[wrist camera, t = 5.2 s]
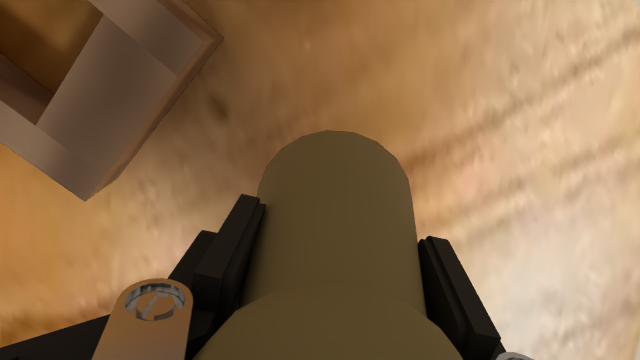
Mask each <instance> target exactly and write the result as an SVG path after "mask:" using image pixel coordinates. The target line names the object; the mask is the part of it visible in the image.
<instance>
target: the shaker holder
mask: <svg viewBox="0 0 640 360" xmlns="http://www.w3.org/2000/svg"><path fill="white" fill-rule="evenodd" d="M88 1H89V2H90V3H92V4H93V5H94V6H95V7H96V8H97V9H99V10H100V11H101V12H102V13H103V14H104V15H103V17H102V18H101V20H100V22H99V23H98V25H97V26H96V28H95V30H94V31H93V33H92V35H91V36H90V38H89V39H88V41H87V43H86V44H85V46H84V48H83V49H82V51H81V52H80V54H79V56H78V57H77V59H76V61H75V62H74V64H73V66H72V67H71V69H70V70H69V72H68V74H67V75H66V77H65V79H64V80H63V82H62V83H61V85H60V87H59V88H58V90H57V92H56V93H55V94H54V93H52V92H51V91H50V90H48V89H47V88H46V87H44V86H43V85H42V84H41V83H39V82H38V81H37V80H35V79H34V78H33V77H31V76H30V75H29V74H27V73H26V72H25V71H24V70H22V69H21V68H20V67H18V66H17V65H16V64H14V63H13V62H12V61H10V60H9V59H8V58H7V57H5V56H4V55H3V54H1V53H0V142H1V143H2V144H4V145H5V146H7V147H8V148H10V149H11V150H12V151H14V152H15V153H17V154H18V155H19V156H21V157H22V158H24V159H25V160H27V161H28V162H29V163H31V164H32V165H34V166H35V167H36V168H38V169H39V170H41V171H42V172H44V173H45V174H46V175H48V176H49V177H51V178H52V179H53V180H55V181H56V182H58V183H59V184H60V185H62V186H63V187H65V188H66V189H68V190H69V191H70V192H72V193H73V194H75V195H76V196H77V197H79V198H80V199H82V200H83V201H87V200H88V199H89V198H91V197H92V196H94V195H95V194H96V193H98V192H99V191H100V190H102V189H103V188H105V187H106V186H107V185H109V184H110V183H112V182H113V181H114V180H116V179H117V178H118V177H119V175H120V174H121V173H122V171H123V170H124V169H125V167H126V166H127V165H128V164H129V162H130V161H131V160H132V158H133V157H134V156H135V154H136V153H137V152H138V150H139V149H140V148H141V146H142V145H143V144H144V142H145V141H146V140H147V138H148V137H149V136H150V134H151V133H152V132H153V131H154V129H155V128H156V127H157V125H158V124H159V123H160V121H161V120H162V119H163V117H164V116H165V115H166V113H167V112H168V111H169V109H170V108H171V107H172V105H173V104H174V103H175V101H176V100H177V99H178V97H179V96H180V95H181V94H182V92H183V91H184V90H185V88H186V87H187V86H188V84H189V83H190V82H191V80H192V79H193V78H194V76H195V75H196V74H197V72H198V71H199V70H200V68H201V67H202V66H203V64H204V63H205V62H206V61H207V59H208V58H209V57H210V55H211V54H212V53H213V51H214V50H215V49H216V47H217V46H218V45H219V43H220V42H221V41H222V39H223V37H222V36H221V35H220V34H219V33H217V32H216V31H215V30H214V29H213V28H212V27H211V26H210V25H209V24H208V23H206V22H205V21H204V20H203V19H202V18H201V17H200V16H199V15H198V14H197V13H195V12H194V11H193V10H192V9H191V8H190V7H189V6H188V5H187V4H186V3H184V2H183V1H182V0H88Z"/></svg>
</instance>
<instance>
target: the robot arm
mask: <svg viewBox="0 0 640 360" xmlns="http://www.w3.org/2000/svg"><path fill="white" fill-rule="evenodd" d="M265 209H266V204H262V203H260V198H257V197H253V196H248V195H244V194H241V196H240V197H239V199H238V200H237V202H236V204H235V205H234V207H233V209H232V210H231V212H230V214H229V215H228V217H227V219H226V220H225V222H224V223H223V225H222V227H221V228H220V230H219V232H218V233H214V232H210V231H205V230H202V231H201V232H200V233H199V234H198V236H197V237H196V239H195V240H194V242H193V243H192V244H191V246H190V247H189V249H188V250H187V252H186V253H185V254H184V256H183V257H182V259H181V260H180V261H179V263H178V264H177V266H176V267H175V269H174V270H173V271H172V273H171V274H170V276H169V277H168V279H164V278H155V279H147V280H143V281H139V282H137V283H135V284H133V285H130V286H129V287H128V288H126V289H125V290H124V291H122V293H121V294H120V296H119V297H118V299H117V301H116V303H115V305H114V308H113V310H112V312H111V314H109V315H106V316H103V317H99V318H96V319H93V320H90V321H86V322H83V323H80V324H77V325H73V326H70V327H67V328H64V329H60V330H57V331H54V332H51V333H47V334H44V335H41V336H38V337H34V338H31V339H28V340H25V341H21V342H18V343H15V344H12V345H8V346H5V347H2V348H0V360H192V359H193V358H194V357H195V356H196V354H197V353H198V352H199V351H200V350H201V349H202V347H203V346H204V345H205V344H206V343H207V341H208V340H209V339H210V338H211V337H212V336H213V335H214V334H215V333H216V331H217V330H218V329H219V328H220V327H221V326H222V325H223V324H224V323H225V322H226V321H227V320H228V319H229V318H230V317H231V316H232V315H233V313H234V312H235V311H237V309H238V303H239V297H240V292H241V289H242V285H243V281H244V278H245V274H246V271H247V267H248V263H249V260H250V256H251V253H252V249H253V246H254V243H255V240H256V237H257V234H258V231H259V228H260V225H261V222H262V219H263V216H264V213H265ZM417 246H418V253H419V260H420V267H421V274H422V281H423V288H424V296H425V304H426V311H427V319H429V320H430V321H431V322H433V323H434V324H435V325H437V326H438V327H439V328H440V329H441V330H442V331H443V333H444V334H445V335H446V336H447V338H448V339H449V340H450V342H451V343H452V344H453V346H454V347H455V348H456V349H457V351H458V352H459V354H460V355H461V357H462V358H463V360H533V359H531V358H529V357H527V356H525V355H522V354H518V353H515V352H506V350H505V349H504V347H503V345H502V343H501V341H500V340H501V337H500V335H499V333H498V332H497V330H496V328H495V326H494V324H493V322H492V320H491V319H490V317H489V315H488V313H487V311H486V309H485V307H484V306H483V304H482V302H481V300H480V298H479V296H478V294H477V293H476V291H475V289H474V287H473V285H472V283H471V281H470V280H469V278H468V276H467V274H466V272H465V270H464V268H463V267H462V265H461V263H460V261H459V259H458V257H457V255H456V254H455V252H454V250H453V248H452V246H451V244H450V242H449V241H448V240H446V239H441V238H437V237H433V236H428V237H427V238H426V239H425V240H424V239H421V240H420V241H419V243H418V245H417Z"/></svg>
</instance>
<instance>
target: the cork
mask: <svg viewBox="0 0 640 360" xmlns="http://www.w3.org/2000/svg"><path fill="white" fill-rule="evenodd" d="M257 198H260V203H262V204H266V209H265V213H264V216H263V219H262V222H261V225H260V228H259V231H258V234H257V237H256V240H255V243H254V246H253V249H252V253H251V256H250V260H249V263H248V267H247V271H246V274H245V278H244V281H243V285H242V289H241V292H240V297H239V303H238V309H237V311H235V312H234V313H233V315H232V316H231V317H230V318H229V319H228V320H227V321H226V322H225V323H224V324H223V325H222V326H221V327H220V328H219V329H218V330H217V331H216V333H215V334H214V335H213V336H212V337H211V338H210V339H209V340H208V341H207V343H206V344H205V345H204V346H203V347H202V349H201V350H200V351H199V352H198V353H197V354H196V356H195V357H194V358H193V359H192V360H463V358H462V357H461V355H460V354H459V352H458V351H457V349H456V348H455V347H454V346H453V344H452V343H451V342H450V340H449V339H448V338H447V336H446V335H445V334H444V333H443V331H442V330H441V329H440V328H439V327H438V326H437V325H435V324H434V323H433V322H431V321H430V320H429V319H427V311H426V304H425V296H424V288H423V281H422V274H421V267H420V260H419V253H418V246H417V245H418V241H417V234H416V226H415V218H414V210H413V202H412V196H411V191H410V186H409V180H408V177H407V176H406V174H405V172H404V171H403V169H402V167H401V165H400V164H399V162H398V160H397V159H396V157H394V156H393V155H392V154H391V153H390V152H389V151H387V150H386V149H385V148H384V147H383V146H381V145H380V144H379V143H378V142H376V141H374V140H371V139H369V138H366V137H364V136H361V135H359V134H356V133H354V132H343V131H329V130H327V131H323V132H318V133H314V134H310V135H306V136H302V137H300V138H299V139H297V140H296V141H294V142H292V143H291V144H289V145H287V146H286V147H284V148H283V149H281V150H280V151H279V153H278V154H277V155H276V156H275V157H274V159H273V160H272V161H271V162H270V163H269V165H268V166H267V167H266V169H265V172H264V174H263V177H262V180H261V183H260V185H259V188H258V193H257Z"/></svg>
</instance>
